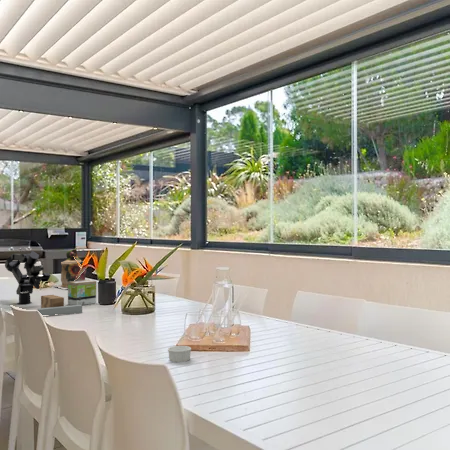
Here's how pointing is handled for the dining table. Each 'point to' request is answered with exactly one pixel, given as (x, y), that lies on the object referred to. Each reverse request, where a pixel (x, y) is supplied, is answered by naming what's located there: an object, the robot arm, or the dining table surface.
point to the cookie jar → (70, 269)
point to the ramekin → (179, 353)
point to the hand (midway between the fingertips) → (38, 288)
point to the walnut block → (51, 301)
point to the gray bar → (61, 310)
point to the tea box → (81, 292)
